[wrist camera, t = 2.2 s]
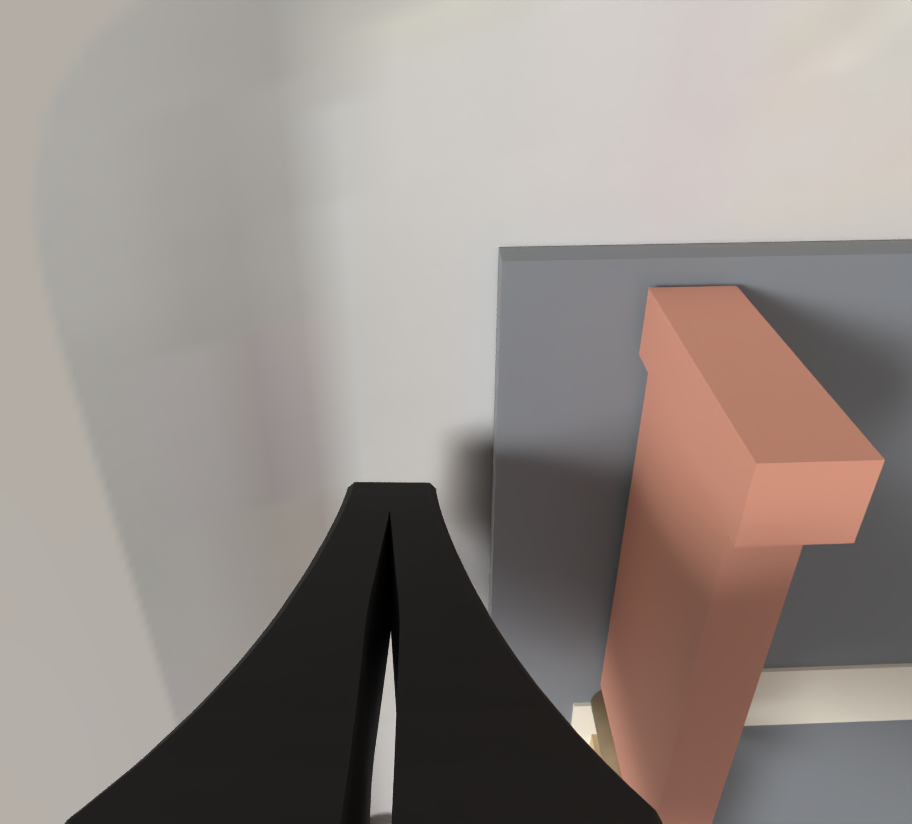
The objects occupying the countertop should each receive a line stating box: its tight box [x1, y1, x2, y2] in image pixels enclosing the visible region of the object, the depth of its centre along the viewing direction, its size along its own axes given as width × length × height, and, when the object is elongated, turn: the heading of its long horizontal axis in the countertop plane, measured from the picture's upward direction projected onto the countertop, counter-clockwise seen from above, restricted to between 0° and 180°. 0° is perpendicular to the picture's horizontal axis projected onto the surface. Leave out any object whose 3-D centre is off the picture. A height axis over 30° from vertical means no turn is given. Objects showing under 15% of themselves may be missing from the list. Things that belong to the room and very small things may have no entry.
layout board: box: [489, 240, 912, 824], centre depth 17 cm, size 17×14×1 cm
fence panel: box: [600, 286, 885, 824], centre depth 13 cm, size 10×1×5 cm, turn 0°
